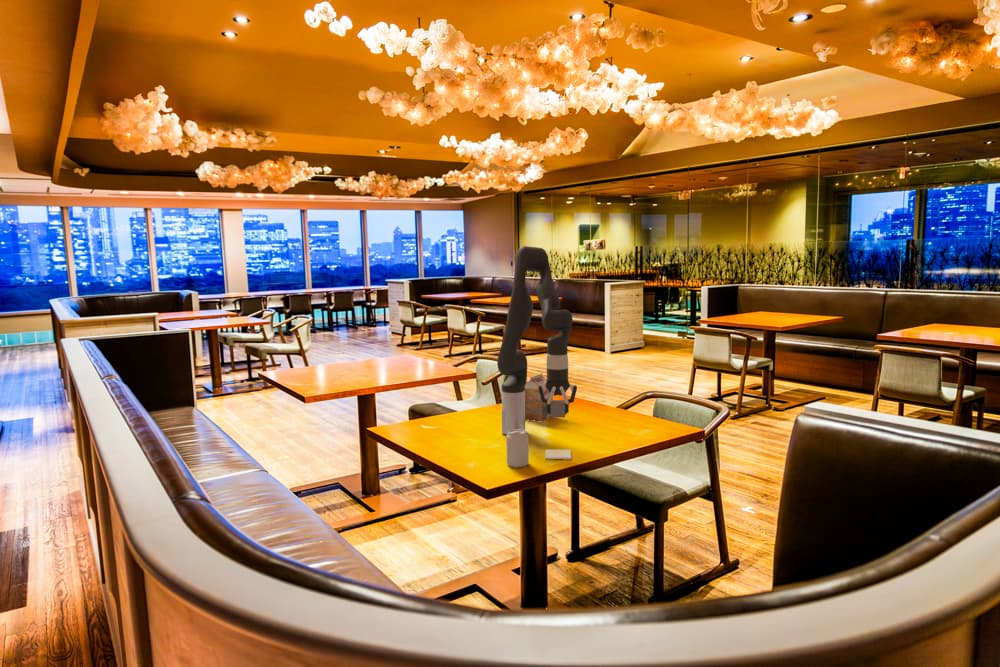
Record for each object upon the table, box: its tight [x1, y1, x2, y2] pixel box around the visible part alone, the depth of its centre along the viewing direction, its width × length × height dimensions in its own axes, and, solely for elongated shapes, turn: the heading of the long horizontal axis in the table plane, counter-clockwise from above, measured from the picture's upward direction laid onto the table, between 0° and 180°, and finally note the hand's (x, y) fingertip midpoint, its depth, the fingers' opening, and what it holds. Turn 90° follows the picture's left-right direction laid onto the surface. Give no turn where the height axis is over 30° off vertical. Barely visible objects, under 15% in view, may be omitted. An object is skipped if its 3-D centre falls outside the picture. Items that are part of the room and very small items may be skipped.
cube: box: [550, 399, 566, 419], centre depth 228 cm, size 5×5×5 cm
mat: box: [544, 449, 572, 461], centre depth 230 cm, size 9×9×1 cm
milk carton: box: [525, 372, 554, 423], centre depth 281 cm, size 11×11×19 cm
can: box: [505, 429, 530, 469], centre depth 220 cm, size 8×8×12 cm
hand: (557, 413), depth 228 cm, fingers closed on cube, 5 cm apart
